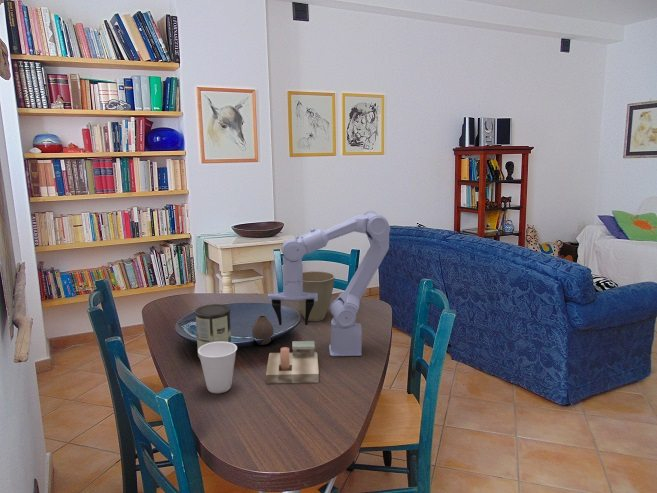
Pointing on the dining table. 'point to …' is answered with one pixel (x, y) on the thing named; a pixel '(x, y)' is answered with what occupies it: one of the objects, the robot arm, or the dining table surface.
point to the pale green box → (303, 346)
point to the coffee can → (212, 324)
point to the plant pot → (322, 287)
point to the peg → (285, 359)
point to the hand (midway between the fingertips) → (293, 323)
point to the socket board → (293, 369)
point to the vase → (262, 329)
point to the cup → (218, 365)
